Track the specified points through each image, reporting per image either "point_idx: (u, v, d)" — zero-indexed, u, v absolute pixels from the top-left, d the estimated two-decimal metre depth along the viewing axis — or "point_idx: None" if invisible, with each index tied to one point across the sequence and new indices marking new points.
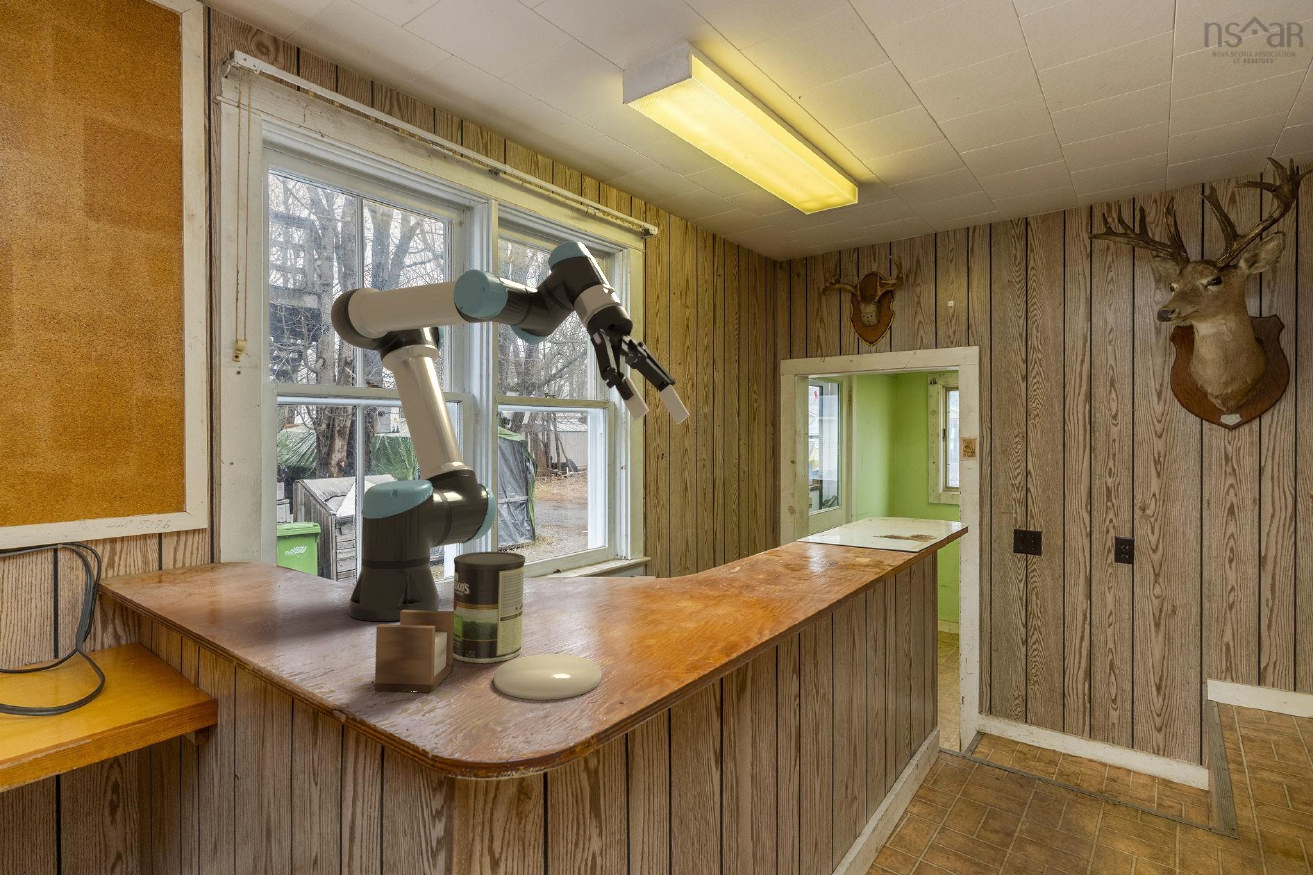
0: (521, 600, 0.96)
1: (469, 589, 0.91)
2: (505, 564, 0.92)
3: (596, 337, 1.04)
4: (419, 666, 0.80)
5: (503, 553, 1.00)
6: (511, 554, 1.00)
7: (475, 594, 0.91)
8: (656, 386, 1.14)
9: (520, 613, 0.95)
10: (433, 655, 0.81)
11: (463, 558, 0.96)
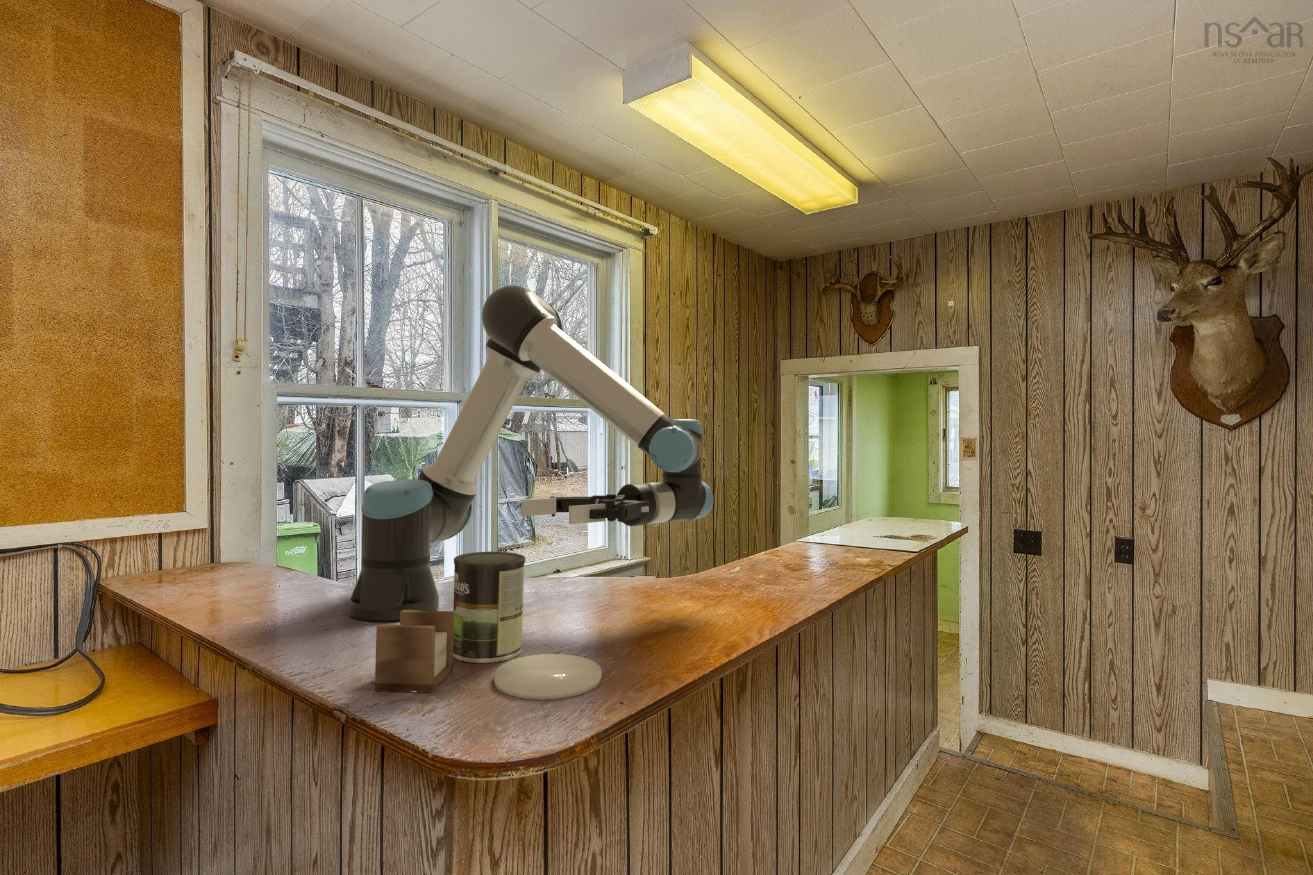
0: (521, 600, 0.96)
1: (469, 589, 0.91)
2: (505, 564, 0.92)
3: (646, 508, 1.09)
4: (419, 666, 0.80)
5: (503, 553, 1.00)
6: (511, 554, 1.00)
7: (475, 594, 0.91)
8: (562, 500, 1.13)
9: (520, 613, 0.95)
10: (433, 655, 0.81)
11: (463, 558, 0.96)
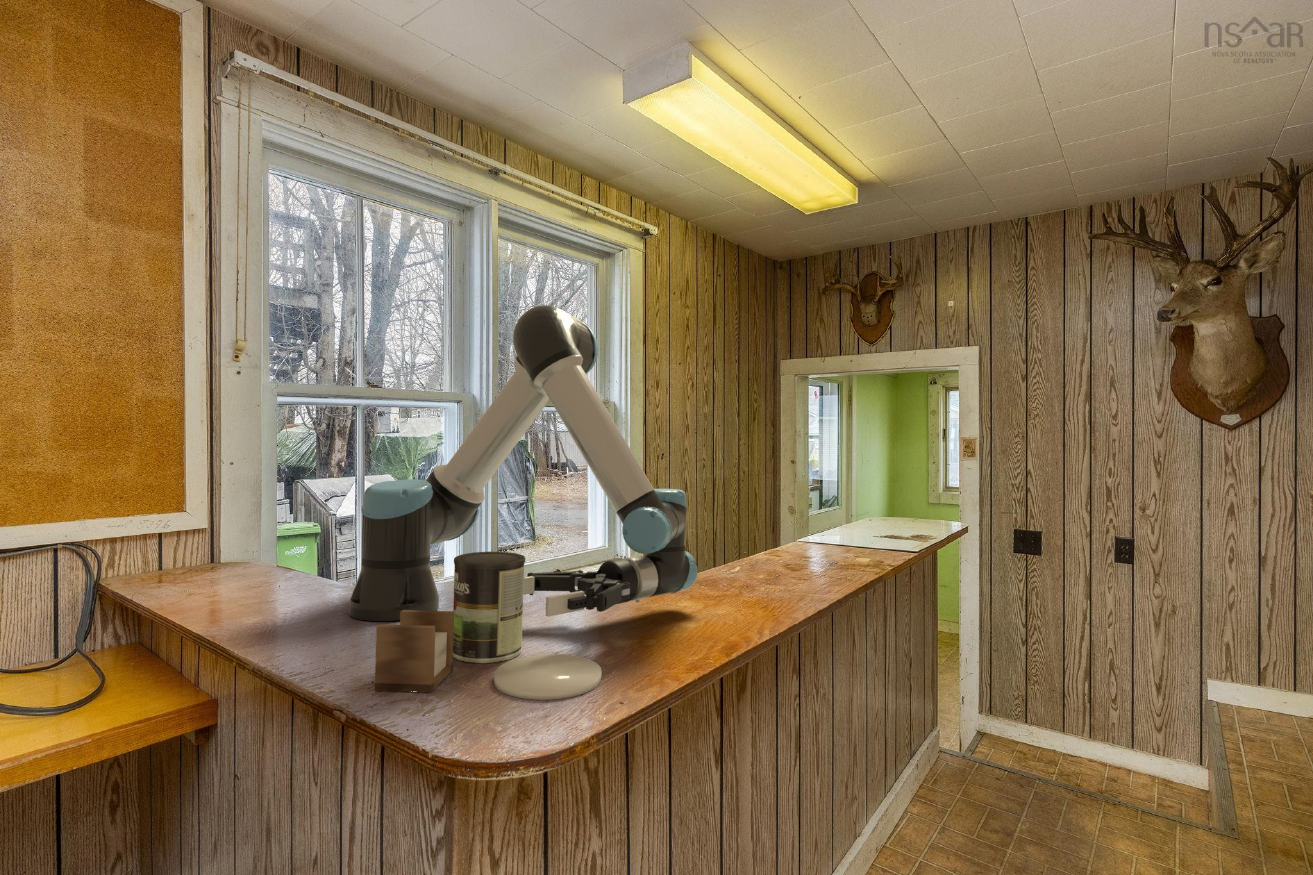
0: (521, 600, 0.96)
1: (469, 589, 0.91)
2: (505, 564, 0.92)
3: (627, 591, 1.05)
4: (419, 666, 0.80)
5: (503, 553, 1.00)
6: (511, 554, 1.00)
7: (475, 594, 0.91)
8: (541, 578, 1.09)
9: (520, 613, 0.95)
10: (433, 655, 0.81)
11: (463, 558, 0.96)
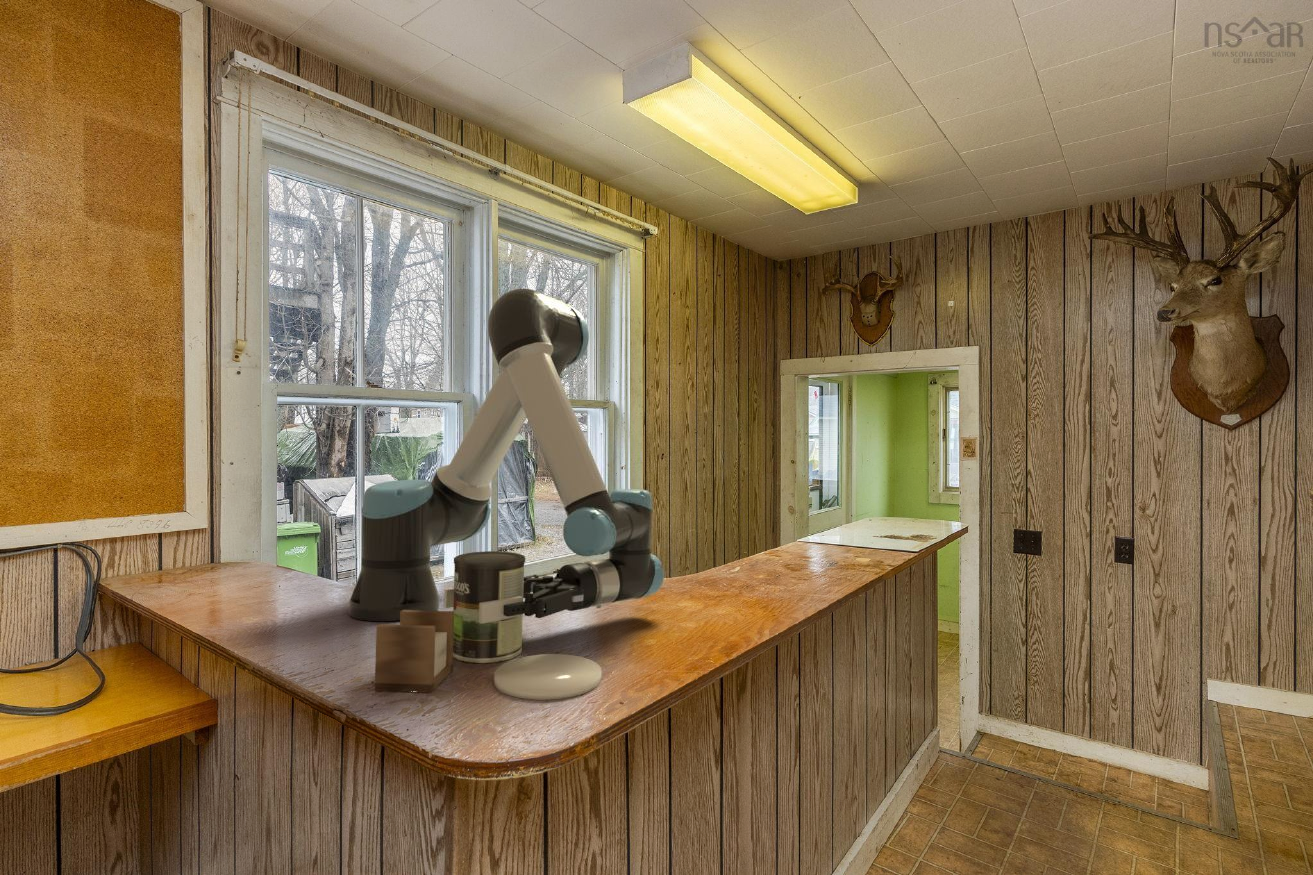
0: None
1: (469, 589, 0.91)
2: (505, 564, 0.92)
3: (580, 598, 0.99)
4: (419, 666, 0.80)
5: (503, 553, 1.00)
6: (511, 554, 1.00)
7: (475, 594, 0.91)
8: None
9: None
10: (433, 655, 0.81)
11: (463, 558, 0.96)
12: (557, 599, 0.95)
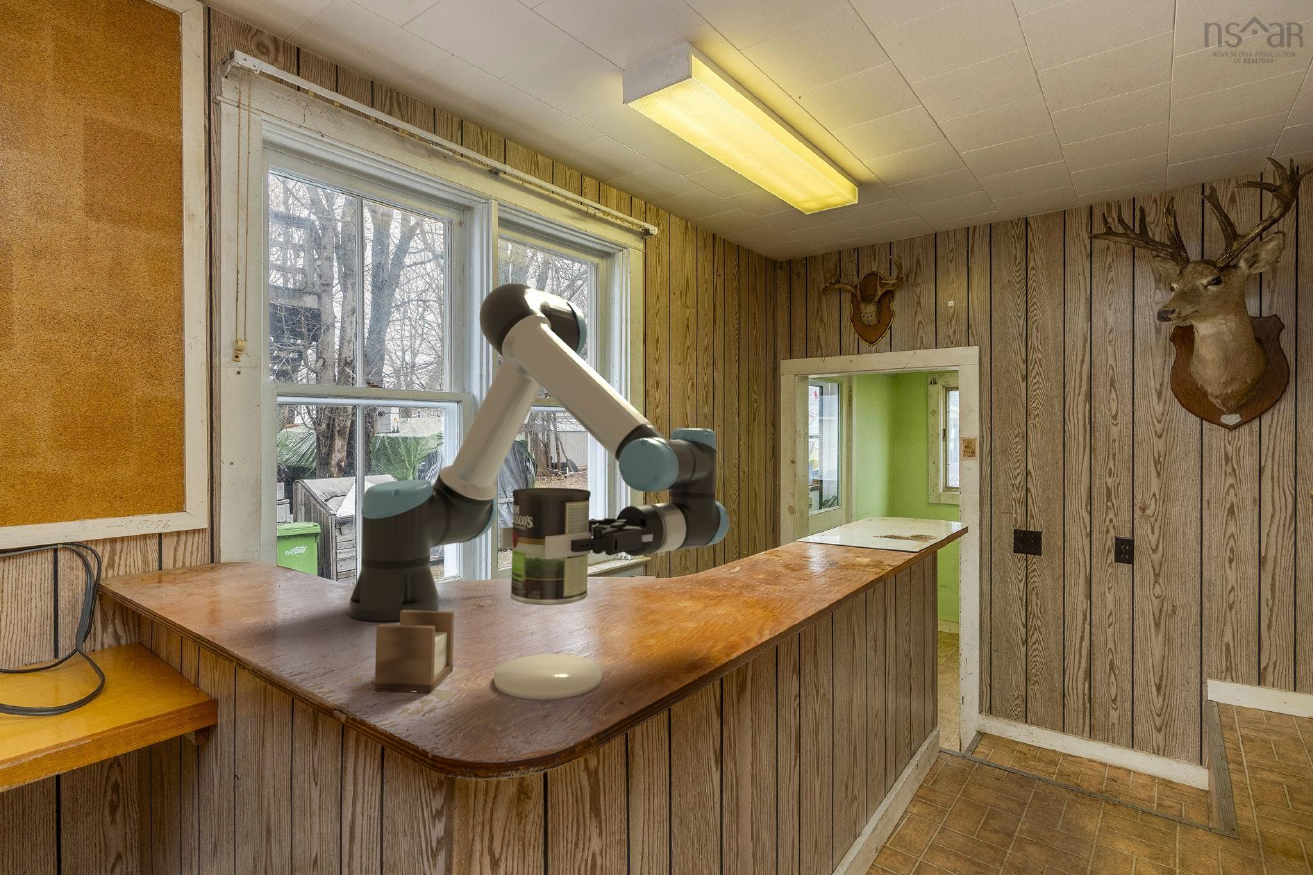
0: None
1: (532, 522, 0.82)
2: (572, 495, 0.83)
3: (649, 537, 0.90)
4: (419, 666, 0.80)
5: (563, 489, 0.91)
6: (573, 489, 0.90)
7: (539, 528, 0.82)
8: None
9: None
10: (433, 655, 0.81)
11: (522, 491, 0.86)
12: (627, 536, 0.86)
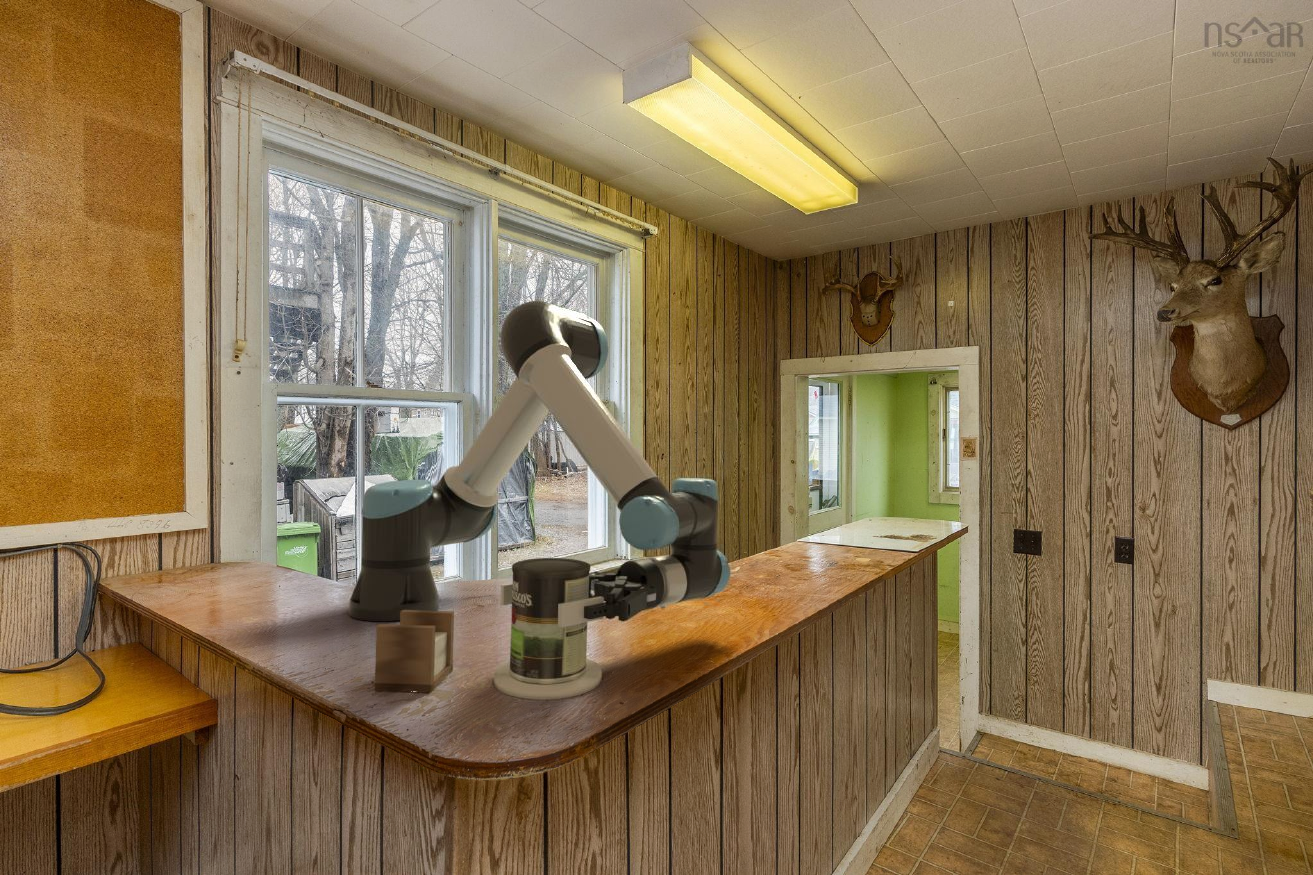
0: None
1: (531, 601, 0.81)
2: (571, 573, 0.82)
3: (653, 596, 0.89)
4: (419, 666, 0.80)
5: (563, 560, 0.90)
6: (573, 561, 0.90)
7: (538, 606, 0.81)
8: None
9: (586, 627, 0.85)
10: (433, 655, 0.81)
11: (522, 565, 0.86)
12: (637, 599, 0.85)
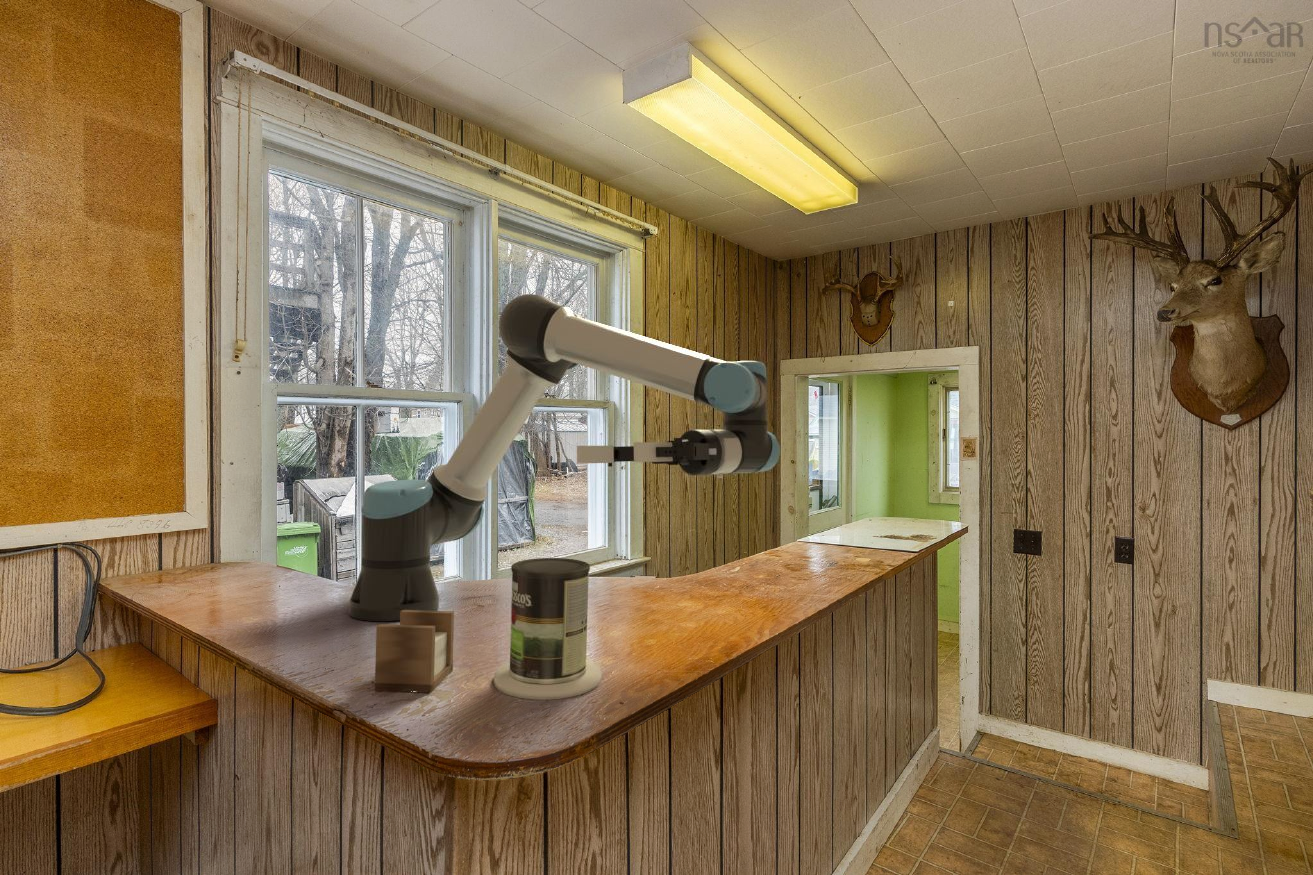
0: (586, 613, 0.86)
1: (531, 601, 0.81)
2: (571, 573, 0.82)
3: (714, 451, 0.98)
4: (419, 666, 0.80)
5: (563, 560, 0.90)
6: (572, 561, 0.90)
7: (538, 607, 0.81)
8: (620, 448, 1.03)
9: (585, 627, 0.85)
10: (433, 655, 0.81)
11: (521, 566, 0.86)
12: (701, 446, 0.94)
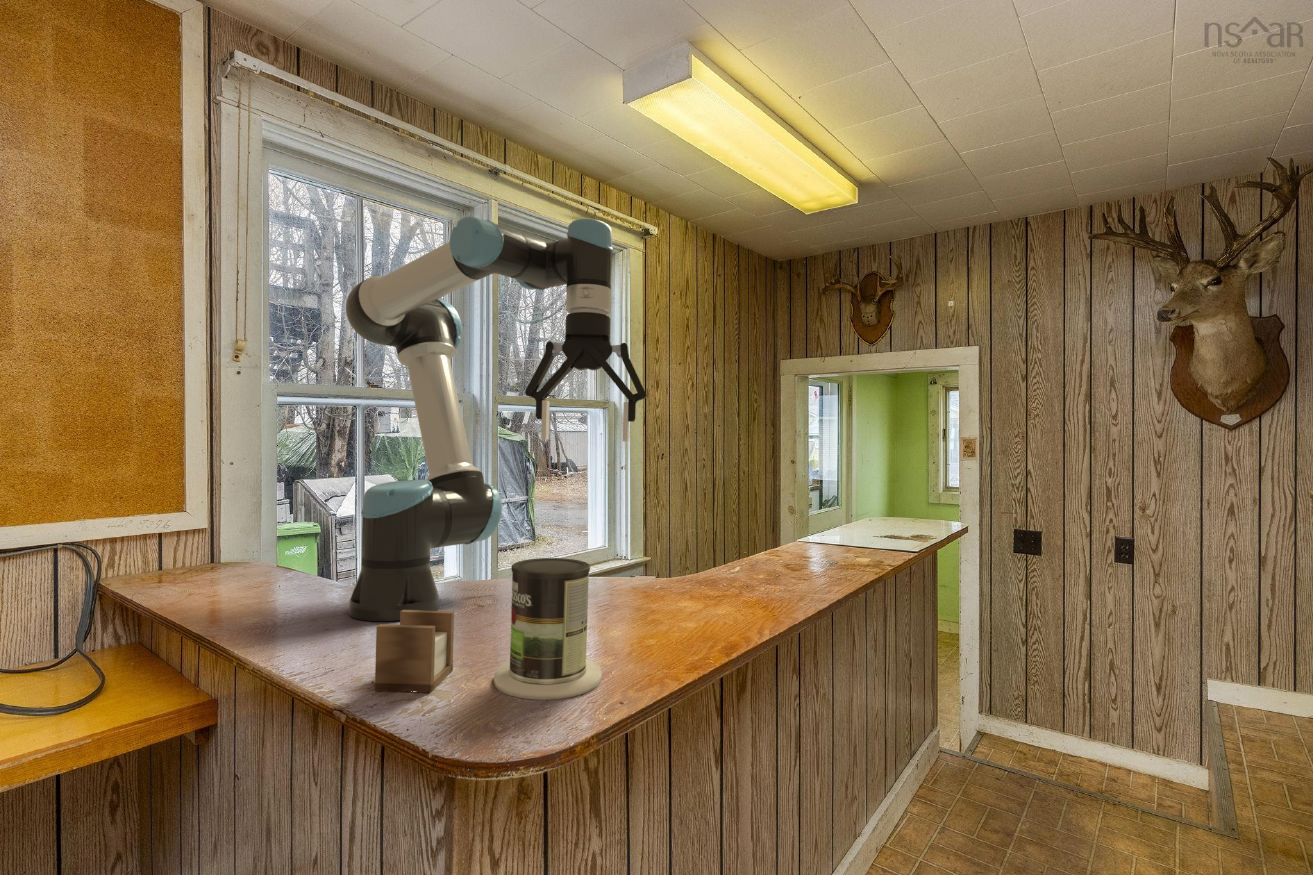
0: (586, 613, 0.86)
1: (531, 601, 0.81)
2: (571, 573, 0.82)
3: None
4: (419, 666, 0.80)
5: (563, 560, 0.90)
6: (572, 561, 0.90)
7: (538, 607, 0.81)
8: None
9: (585, 627, 0.85)
10: (433, 655, 0.81)
11: (521, 566, 0.86)
12: None
